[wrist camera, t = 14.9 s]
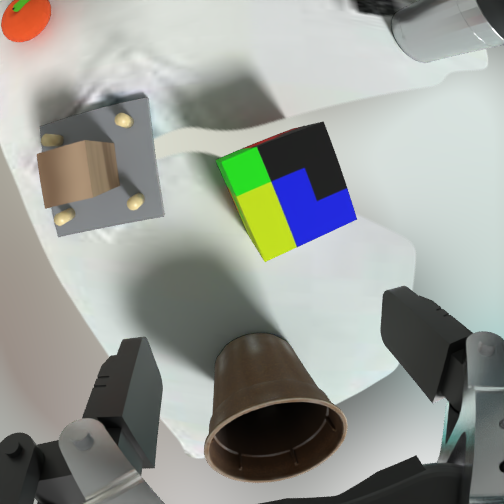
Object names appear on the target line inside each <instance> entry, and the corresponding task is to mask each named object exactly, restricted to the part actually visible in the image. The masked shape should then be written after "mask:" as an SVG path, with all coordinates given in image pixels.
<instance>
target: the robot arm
mask: <svg viewBox="0 0 504 504" xmlns="http://www.w3.org/2000/svg"><path fill="white" fill-rule="evenodd" d="M392 31H393V34H394V37H395V39H396V41H397V43H398V44H399V46H400V47H401V48H402V50H403V51H404V52H405V53H406V54H407V55H408V56H410V57H411V58H413V59H414V60H416V61H419V62H423V63H428V62H432V61H436V60H440V59H443V58H448V57H452V56H456V55H460V54H464V53H468V52H473V51H477V50H482V49H487V48H492V47H497V46H501V45H504V0H418V1H416V2H414V3H412V4H410V5H408V6H406V7H405V8H403V9H401V10H399V11H398V12H396V13H395V15H394V16H393V19H392ZM381 337H382V340H383V342H384V344H385V346H386V347H387V348H388V349H389V351H390V352H391V353H392V354H393V355H394V357H395V358H396V359H397V360H398V361H399V363H400V364H401V365H402V366H403V367H404V369H405V370H406V371H407V372H408V374H409V375H410V376H411V377H412V378H413V380H414V381H415V382H416V383H417V384H418V386H419V387H420V388H421V389H422V391H423V392H424V393H425V394H426V396H427V397H428V398H429V399H430V401H431V402H432V403H435V402H437V401H439V400H441V399H443V398H446V399H447V400H448V402H447V405H446V409H445V420H444V429H443V437H442V444H441V451H440V455H439V458H438V461H437V463H430V464H423V465H422V464H421V462H420V461H419V459H418V458H417V456H414V457H411V458H409V459H407V460H405V461H403V462H400V463H398V464H395V465H393V466H390V467H388V468H385V469H383V470H380V471H378V472H376V473H375V474H373V475H372V476H370V477H369V478H367V479H365V480H364V481H362V482H361V483H359V484H357V485H356V486H354V487H352V488H350V489H349V490H347V491H345V492H344V493H342V494H340V495H337V496H331V497H316V498H286V499H282V500H277V501H271V502H266V503H260V504H504V340H503V339H502V338H501V337H500V336H498V335H496V334H494V333H491V332H476V333H472V332H471V331H470V330H468V329H467V328H466V327H465V326H464V325H462V324H461V323H460V322H459V321H457V320H456V319H455V318H453V317H452V316H451V315H449V313H447V312H446V311H445V310H444V309H441V307H440V306H438V305H437V304H436V303H434V302H433V301H432V300H429V299H427V298H424V297H422V296H418V295H417V294H415V293H414V292H413V291H412V290H410V289H409V288H408V287H406V286H401V287H398V288H394V289H390V290H386V291H385V292H384V294H383V300H382V317H381ZM162 391H163V386H162V379H161V375H160V372H159V369H158V367H157V364H156V361H155V359H154V356H153V353H152V351H151V348H150V345H149V342H148V340H147V339H146V337H138V338H130V339H123V340H122V342H121V345H120V348H119V350H118V353H117V355H113V356H110V357H109V358H108V359H107V360H106V362H105V363H104V364H103V365H102V366H101V369H100V371H99V374H98V379H96V381H95V384H94V388H93V389H92V392H91V395H90V397H89V400H88V403H87V406H86V409H85V412H84V414H83V417H82V419H79V420H76V421H74V422H72V423H70V424H69V425H67V426H66V427H65V428H64V430H63V431H62V433H61V434H60V437H59V440H57V441H53V442H48V443H43V444H38V445H36V443H35V442H34V441H33V440H32V438H31V437H30V436H29V435H27V434H25V433H14V434H11V435H10V436H7V437H6V438H5V439H4V440H3V441H2V442H1V443H0V504H33V502H34V498H35V499H36V500H37V501H38V503H37V504H165V503H164V502H163V501H162V500H161V499H160V498H159V497H158V496H157V494H156V493H155V492H154V491H153V490H152V489H151V488H150V486H149V485H148V484H147V483H146V482H145V480H144V479H143V478H142V477H141V472H142V468H155V457H156V445H157V435H158V426H159V417H160V408H161V400H162Z"/></svg>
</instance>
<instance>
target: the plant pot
mask: <svg viewBox="0 0 504 504" xmlns="http://www.w3.org/2000/svg"><path fill="white" fill-rule="evenodd" d="M346 433H347V420H346V417H345V415H344V414H343V412H342V411H341V410H340V409H339V408H338V407H337V406H336V405H334V404H333V403H331V401H330V400H329V398H328V397H327V396H326V394H325V393H324V392H323V391H322V390H321V389H319V388H318V387H317V385H316V384H315V382H314V381H313V379H312V378H311V376H310V375H309V373H308V372H307V370H306V369H305V367H304V366H303V364H302V363H301V361H300V359H299V358H298V356H297V355H296V353H295V352H294V350H293V348H292V347H291V346H290V344H289V343H288V342H287V341H285V340H282V339H281V338H279V337H277V336H275V335H273V334H268V333H255V334H248V335H245V336H242V337H239V338H237V339H235V340H233V341H231V342H230V343H229V344H227V345H226V346H225V348H224V349H223V351H222V352H221V353H220V355H219V356H218V357H217V359H216V362H215V376H214V398H213V415H212V417H211V420H210V424H209V435H208V436H207V438H206V441H205V445H204V455H205V458H206V461H207V463H208V464H209V465H210V466H211V468H212V469H214V470H215V471H216V472H218V473H219V474H221V475H223V476H225V477H228V478H230V479H233V480H237V481H243V482H253V483H262V482H274V481H280V480H285V479H288V478H292V477H295V476H298V475H301V474H303V473H306V472H308V471H310V470H312V469H313V468H315V467H317V466H319V465H320V464H321V463H323V462H324V461H326V460H327V459H328V458H329V457H330V456H332V455H333V454H334V453H335V452H336V451H337V449H338V448H339V447H340V446H341V444H342V442H343V441H344V439H345V437H346Z"/></svg>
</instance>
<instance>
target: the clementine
mask: <svg viewBox="0 0 504 504" xmlns="http://www.w3.org/2000/svg"><path fill="white" fill-rule="evenodd" d="M50 16H51V5H50V3H49V1H48V0H14V1H13V2H12V3H11V4H10V5H9V6H8V7H7V9H6V10H5V12H4V14H3V17H2V22H1V27H2V31H3V34H4V35H5V36H6V37H7V38H8V39H9V40H11V41H14V42H24V41H28V40H31V39H32V38H34V37H36V36H37V35H38V34H40V32H41V31H42V30H43V29H44V28H45V27H46V25H47V23H48V21H49V19H50Z"/></svg>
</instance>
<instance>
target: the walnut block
mask: <svg viewBox="0 0 504 504" xmlns="http://www.w3.org/2000/svg"><path fill="white" fill-rule="evenodd" d="M37 161H38V168H39V175H40V182H41V188H42V194H43V199H44V205H45V209H46V208H50V207H54V206H58V205H62V204H67V203H71V202H75V201H80V200H84V199H89V198H93V197H96V196H98V195H100V194H102V193H105V192H107V191H109V190H111V189H114V188H116V187H118V186H120V182H119V175H118V168H117V161H116V153H115V145H114V143H108V142H98V141H89V140H84V141H80V142H76V143H72V144H69V145H65V146H62V147H58V148H55V149H51V150H48V151H45V152H42V153H39V154H37Z"/></svg>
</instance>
